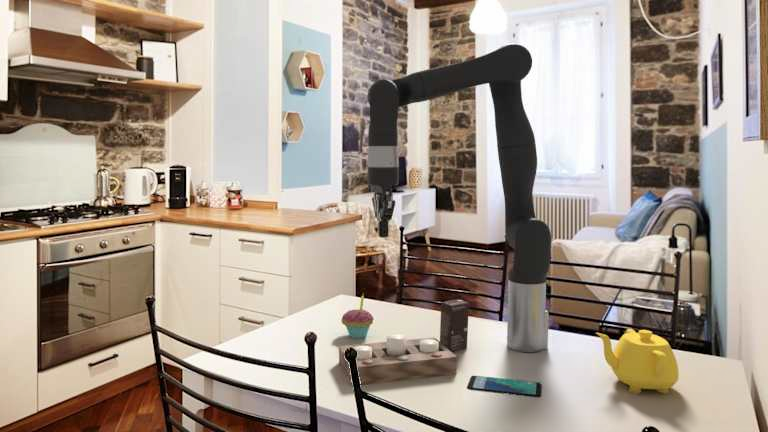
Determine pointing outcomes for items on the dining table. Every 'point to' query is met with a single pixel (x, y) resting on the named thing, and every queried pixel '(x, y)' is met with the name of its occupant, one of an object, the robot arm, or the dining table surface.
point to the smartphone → (505, 386)
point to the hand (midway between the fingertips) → (383, 236)
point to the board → (401, 363)
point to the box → (454, 324)
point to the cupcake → (357, 321)
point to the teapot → (642, 361)
